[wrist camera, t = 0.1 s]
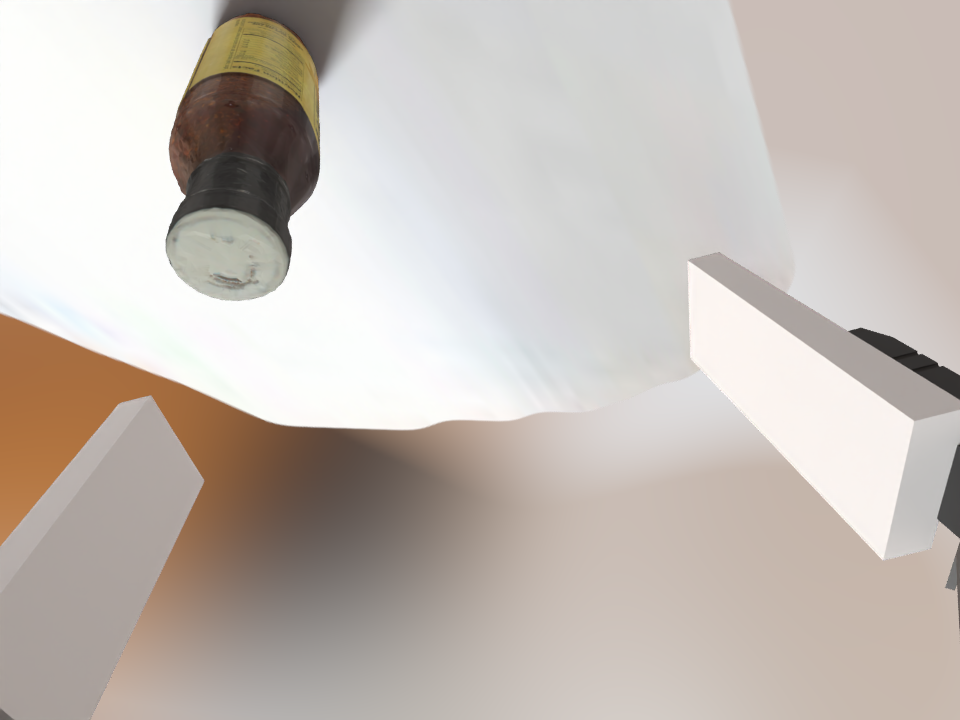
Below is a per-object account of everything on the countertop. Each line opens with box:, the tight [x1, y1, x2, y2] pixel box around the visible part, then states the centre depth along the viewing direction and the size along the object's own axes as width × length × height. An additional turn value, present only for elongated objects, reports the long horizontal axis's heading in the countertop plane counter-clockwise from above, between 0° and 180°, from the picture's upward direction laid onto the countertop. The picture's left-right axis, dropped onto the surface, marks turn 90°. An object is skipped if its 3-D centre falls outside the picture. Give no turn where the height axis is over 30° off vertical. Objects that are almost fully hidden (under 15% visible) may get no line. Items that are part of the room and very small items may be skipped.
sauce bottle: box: [166, 13, 320, 301], centre depth 26 cm, size 6×6×20 cm
